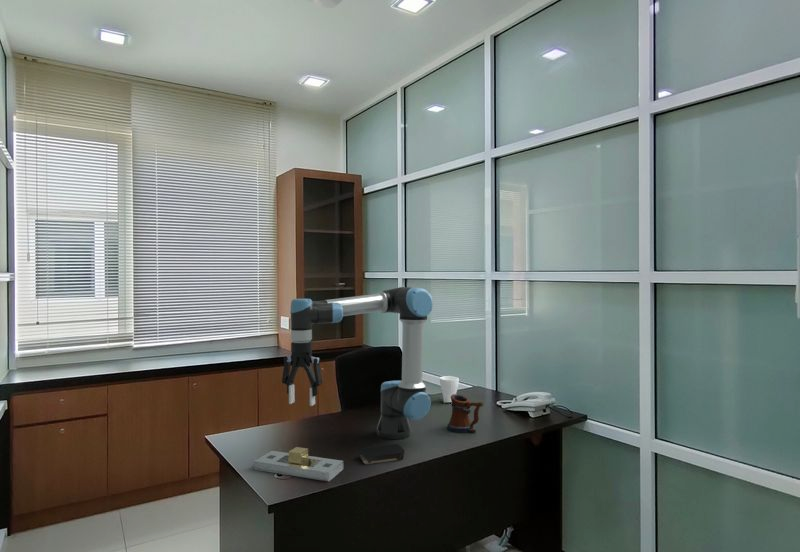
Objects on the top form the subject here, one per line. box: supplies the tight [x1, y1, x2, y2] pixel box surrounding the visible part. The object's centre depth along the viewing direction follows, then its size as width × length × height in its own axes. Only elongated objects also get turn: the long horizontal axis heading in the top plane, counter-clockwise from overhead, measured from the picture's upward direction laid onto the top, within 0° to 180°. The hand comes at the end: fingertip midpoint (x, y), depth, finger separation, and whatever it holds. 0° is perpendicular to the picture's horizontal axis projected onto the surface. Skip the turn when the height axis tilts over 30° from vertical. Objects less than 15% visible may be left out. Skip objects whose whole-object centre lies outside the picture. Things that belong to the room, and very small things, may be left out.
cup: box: [439, 375, 460, 403], centre depth 263 cm, size 10×10×14 cm
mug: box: [447, 393, 484, 434], centre depth 216 cm, size 18×12×15 cm, turn 45°
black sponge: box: [359, 443, 405, 465], centre depth 182 cm, size 16×8×4 cm, turn 108°
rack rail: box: [253, 450, 344, 482], centre depth 172 cm, size 30×11×3 cm, turn 71°
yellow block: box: [288, 446, 309, 466], centre depth 172 cm, size 5×5×7 cm
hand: (302, 403), depth 174 cm, fingers open, 8 cm apart
